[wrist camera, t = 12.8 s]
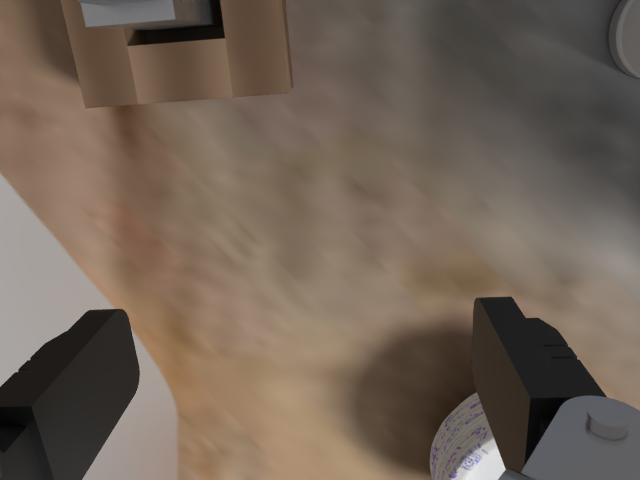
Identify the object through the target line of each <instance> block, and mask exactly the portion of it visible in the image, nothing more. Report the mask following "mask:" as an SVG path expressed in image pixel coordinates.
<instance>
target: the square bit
mask: <svg viewBox="0 0 640 480" xmlns="http://www.w3.org/2000/svg"><path fill="white" fill-rule="evenodd" d="M78 3H81V7H82V12H83V16H84V20H85V25H86V27H93V28H113V29H133V30H152V31H161V30H173V29H184V28H196V27H207V26H219V25H222V23H221V16H220V9H219V1H218V0H78Z"/></svg>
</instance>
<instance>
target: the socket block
mask: <svg viewBox="0 0 640 480" xmlns="http://www.w3.org/2000/svg"><path fill="white" fill-rule="evenodd" d="M60 1H61V6H62V10H63V14H64V18H65V23H66V27H67V31H68V36H69V40H70V44H71V48H72V53H73V57H74V61H75V66H76V70H77V74H78V78H79V83H80V87H81V91H82V96H83V100H84V104H85V108H96V107H110V106H123V105H136V104H149V103H163V102H176V101H189V100H202V99H216V98H229V97H242V96H255V95H269V94H282V93H288V92H289V91H290V90H291V88H292V87H293V79H292V68H291V57H290V45H289V34H288V23H287V12H286V1H285V0H218V1H219V9H220V16H221V23H222V25H219V26H207V27H196V28H184V29H173V30H161V31H152V30H133V29H113V28H93V27H86V25H85V20H84V16H83V12H82V7H81V3H78V0H60Z"/></svg>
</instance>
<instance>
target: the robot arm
mask: <svg viewBox="0 0 640 480" xmlns="http://www.w3.org/2000/svg"><path fill="white" fill-rule="evenodd" d="M471 361H472V374H473V381H474V385H475V388H476V391H477V394H478V396H479V399H480V402H481V404H482V407H483V410H484V413H485V415H486V418H487V421H488V423H489V426H490V429H491V431H492V434H493V437H494V440H495V442H496V445H497V448H498V450H499V453H500V456H501V458H502V461H503V464H504V466H505V469H506V470H505V471H504V472H503V473H502V475H501V476H500V477H499V479H498V480H640V411H639V410H637V409H636V408H634V407H632V406H630V405H628V404H626V403H623V402H621V401H618V400H614V399H611V398H607V397H606V395H605V394H604V393H603V391H602V390H601V389H600V387H599V386H598V384H597V383H596V382H595V380H594V379H593V378H592V376H591V375H590V374H589V372H588V371H587V370H586V368H585V367H584V365H583V364H582V363H581V361H580V360H577V356H576V355H575V353H574V352H573V351H572V349H571V348H570V347H568V344H567V342H566V341H565V340H564V338H563V337H562V336H561V334H560V333H559V332H558V330H557V329H555V328H553V327H552V326H550V325H549V324H547V323H545V322H544V321H542V320H541V319H539V318H525V316H524V315H523V313H522V312H521V310H520V309H519V307H518V306H517V304H516V303H515V301H514V299H513V298H512V297H485V298H476V299H475V302H474V311H473V335H472V360H471ZM139 375H140V371H139V364H138V359H137V355H136V350H135V345H134V341H133V336H132V332H131V327H130V322H129V318H128V316H127V313H126V312H125V311H124V310H123V309H105V310H89V311H87V312H86V313H85V314H84V315H83V316H82V317H81V318H80V319H79V320H78V321H77V322H76V323H75V324H74V325H73V326H72V327H71V328H70V329H69V330H68V331H66V332H64V333H62V334H61V335H59V336H58V337H56V338H54V339H52V340H51V341H49V342H47V343H45V344H44V345H43V346H42V347H41V348H40V349H39V350H38V351H37V352H36V353H35V354H34V355H33V356H32V357H31V360H30V361H27V362H26V363H25V364H24V365H22V366H21V367H20V369H19V371H18V372H16V373H14V374H13V375H12V376H11V377H10V378H9V379H8V380H7V381H6V382H5V383H4V384H3V385H2V386H1V387H0V480H82V479H83V477H84V475H85V474H86V472H87V470H88V469H89V467H90V466H91V464H92V463H93V461H94V459H95V458H96V456H97V454H98V453H99V451H100V450H101V448H102V446H103V445H104V443H105V442H106V440H107V438H108V437H109V435H110V434H111V432H112V430H113V429H114V427H115V426H116V424H117V422H118V421H119V419H120V417H121V416H122V414H123V413H124V411H125V409H126V408H127V406H128V404H129V403H130V401H131V400H132V398H133V397H134V395H135V393H136V391H137V388H138V384H139Z"/></svg>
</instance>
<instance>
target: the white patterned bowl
mask: <svg viewBox="0 0 640 480" xmlns="http://www.w3.org/2000/svg"><path fill="white" fill-rule="evenodd" d="M505 470H506V469H505V466H504V464H503V461H502V458H501V456H500V453H499V450H498V448H497V445H496V442H495V440H494V437H493V434H492V431H491V429H490V426H489V423H488V421H487V418H486V415H485V413H484V410H483V407H482V404H481V402H480V399H479V396H478V394H477V392H476V393H474V394H473V395H471V396H469V397H468V398H467V399H465V400H464V401H463V402H462V403H461V404H460V405H459V406H458V407H456V408H455V409H454V410H453V411H452V412H451V413H450V414H449V415H448V417H447V418H446V419H445V420H444V421H443V423H442V424H441V426H440V428H439V430H438V432H437V434H436V436H435V438H434V440H433V443H432V446H431V453H430V471H431V476H432V480H498V479H499V477H500V476H501V475H502V473H503V472H504V471H505Z"/></svg>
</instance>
